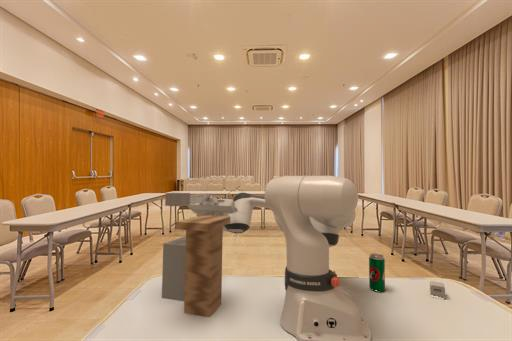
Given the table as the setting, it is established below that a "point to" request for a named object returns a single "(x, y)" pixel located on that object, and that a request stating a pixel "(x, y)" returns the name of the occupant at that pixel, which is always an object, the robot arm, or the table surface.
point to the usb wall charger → (437, 289)
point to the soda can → (377, 272)
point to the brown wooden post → (203, 263)
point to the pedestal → (174, 269)
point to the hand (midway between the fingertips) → (204, 196)
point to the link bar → (184, 199)
